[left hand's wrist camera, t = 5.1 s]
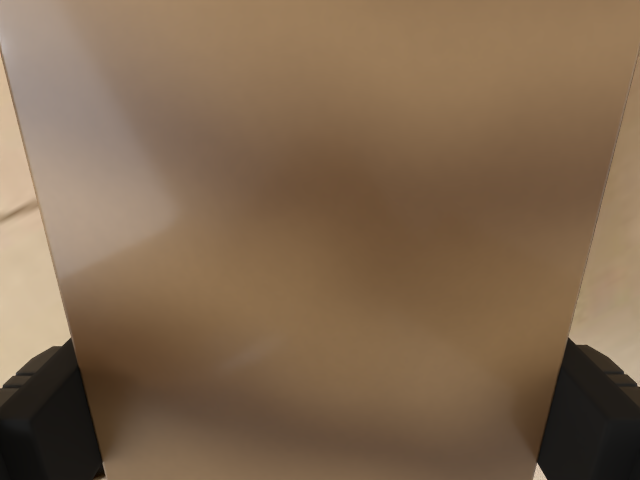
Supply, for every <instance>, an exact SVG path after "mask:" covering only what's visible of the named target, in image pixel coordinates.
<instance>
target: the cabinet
mask: <svg viewBox="0 0 640 480" xmlns="http://www.w3.org/2000/svg"><path fill="white" fill-rule="evenodd" d="M639 50H640V0H0V53H1V57H2V61H3V65H4V69H5V73H6V77H7V81H8V85H9V89H10V93H11V97H12V101H13V105H14V109H15V113H16V117H17V121H18V125H19V129H20V133H21V137H22V141H23V145H24V149H25V153H26V157H27V161H28V165H29V169H30V173H31V177H32V181H33V186H34V190H35V194H36V198H37V202H38V206H39V210H40V214H41V218H42V222H43V226H44V230H45V234H46V238H47V242H48V246H49V250H50V254H51V258H52V262H53V266H54V270H55V274H56V278H57V282H58V286H59V290H60V294H61V298H62V302H63V306H64V310H65V314H66V318H67V322H68V326H69V330H70V334H71V338H72V342H73V346H74V350H75V354H76V358H77V362H78V366H79V370H80V374H81V378H82V382H83V386H84V390H85V394H86V398H87V402H88V406H89V410H90V414H91V418H92V422H93V426H94V430H95V435H96V439H97V443H98V447H99V451H100V455H101V459H102V463H103V467H104V471H105V475H106V479H107V480H533V477H534V473H535V469H536V465H537V461H538V457H539V453H540V448H541V444H542V440H543V436H544V432H545V428H546V424H547V420H548V416H549V412H550V408H551V404H552V400H553V396H554V392H555V388H556V384H557V380H558V376H559V372H560V368H561V364H562V360H563V356H564V352H565V348H566V344H567V340H568V336H569V332H570V328H571V324H572V320H573V316H574V312H575V308H576V304H577V300H578V296H579V292H580V288H581V283H582V279H583V275H584V271H585V267H586V263H587V259H588V255H589V251H590V247H591V243H592V239H593V235H594V231H595V227H596V223H597V219H598V215H599V211H600V207H601V203H602V199H603V195H604V191H605V187H606V183H607V179H608V175H609V171H610V167H611V163H612V159H613V155H614V151H615V147H616V143H617V139H618V135H619V131H620V127H621V123H622V118H623V114H624V110H625V106H626V102H627V98H628V94H629V90H630V86H631V82H632V78H633V74H634V70H635V66H636V62H637V58H638V54H639Z"/></svg>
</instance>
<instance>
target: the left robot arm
mask: <svg viewBox="0 0 640 480" xmlns="http://www.w3.org/2000/svg"><path fill="white" fill-rule="evenodd" d="M537 463H538V465H539V466H540V468H541V470H542V471H543V473H544V475H545V477H546V478H547V480H640V387H638V386H637V383H636V382H635V381H634V380H632V379H631V378H630V377H629V376H628V375H627V374H624V371H623V370H622V369H620V368H619V367H618V366H617V365H616V364H615V363H614V362H613V361H612V360H611V359H610V358H608V357H607V356H605V355H603V354H602V353H600V352H598V351H596V350H595V349H593V348H591V347H590V346H588V345H576V344H575V343H574V342H573V341H571V340H570V339H569V338H568V340H567V344H566V348H565V352H564V356H563V360H562V364H561V368H560V372H559V376H558V380H557V384H556V388H555V392H554V396H553V400H552V404H551V408H550V412H549V416H548V420H547V424H546V428H545V432H544V436H543V440H542V444H541V448H540V453H539V457H538V461H537ZM101 464H102V459H101V455H100V451H99V447H98V443H97V439H96V435H95V430H94V426H93V422H92V418H91V414H90V410H89V406H88V402H87V398H86V394H85V390H84V386H83V382H82V378H81V374H80V370H79V366H78V362H77V358H76V354H75V350H74V346H73V342H72V338H70V339H69V340H68V341H67V342H66V343H65V344H64V345H63V346H53V347H51V348H49V349H48V350H46V351H44V352H42V353H41V354H39V355H37V356H35V357H34V358H32V359H31V360H30V361H29V362H28V363H26V364H25V365H24V366H23V367H22V368H21V369H20V370H19V371H18V372H17V373H16V376H12V377H11V378H10V379H9V380H8V381H7V382H6V383H5V384H4V385H3V388H0V480H92V479H93V477H94V476H95V474H96V472H97V471H98V469H99V467H100V466H101Z"/></svg>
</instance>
